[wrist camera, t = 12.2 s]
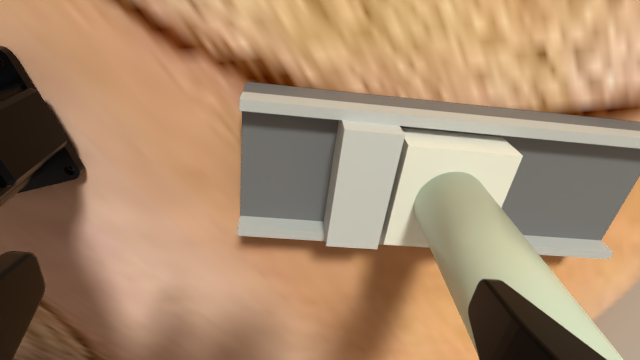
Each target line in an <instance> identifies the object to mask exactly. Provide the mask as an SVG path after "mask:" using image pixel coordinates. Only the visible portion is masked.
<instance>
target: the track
mask: <svg viewBox="0 0 640 360" xmlns="http://www.w3.org/2000/svg"><path fill="white" fill-rule="evenodd" d="M239 111H242V155H241V207H240V219H239V224H238V236H251V237H267V238H282V239H298V240H314V241H326V246H331V247H347V248H364V249H377V248H378V245H384V244H383V241H382V237H381V232H382V228H383V224H384V220H385V215H386V211H387V207H388V203H389V199H390V195H391V191H392V187H393V183H394V178H395V174H396V170H397V166H398V162H399V158H400V154H401V150H402V146H403V141H404V137H405V134H404V132H403V131H402V129H401V127H402V128H413V129H423V130H434V131H445V132H455V133H466V134H476V135H487V136H498V137H502V138H504V139H505V140H506V141H507V142H508V143H509V144H510V145H511V146H513V147H514V148H515V149H516V150H517V151H518V152H519V153H520V154H522V155H523V157H522V160H521V162H520V164H519V167H518V169H517V172H516V174H515V176H514V179H513V181H512V184H511V186H510V188H509V191H508V193H507V196H506V198H505V200H504V203H503V205H502V210H503V211H504V212H505V213H506V214H507V216H508V217H509V218H510V219H511V221H512V222H513V223H514V224H515V226H516V227H517V228H518V229H519V231H520V232H521V233H522V234H523V236H524V237H525V238H526V239H527V241H528V242H529V243H530V244H531V245H532V247H533V248H534V249H535V250H536V252H537V253H538V254H539V255H550V256H566V257H582V258H597V259H609V258H610V257H611V255H612V254H613V251H612V250H611V249H610V248H609V247H607V246H606V245H605V244H604V243H603V242H602V241H601V240H602V238H603V236H604V235H605V233H606V231H607V230H608V228H609V226H610V225H611V223H612V221H613V219H614V218H615V216H616V214H617V213H618V211H619V209H620V208H621V206H622V204H623V203H624V201H625V199H626V198H627V196H628V194H629V193H630V191H631V189H632V188H633V186H634V184H635V183H636V181H637V179H638V178H639V176H640V122H636V121H626V120H616V119H606V118H596V117H586V116H577V115H567V114H557V113H547V112H537V111H528V110H518V109H508V108H498V107H488V106H479V105H469V104H459V103H449V102H439V101H430V100H420V99H410V98H400V97H390V96H380V95H371V94H361V93H351V92H341V91H331V90H322V89H312V88H302V87H292V86H282V85H273V84H263V83H253V82H247V83H246V85H245V87H244V90H243V92H242V94H241V97H240V104H239ZM393 246H399V245H393ZM408 247H414V246H408ZM424 248H430V247H424Z"/></svg>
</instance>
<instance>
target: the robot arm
mask: <svg viewBox="0 0 640 360" xmlns="http://www.w3.org/2000/svg"><path fill="white" fill-rule="evenodd" d="M0 56H1V57H2V58H3V59H4V63H2V62H0V206H2V205H3V204H4V203H5V202H7V201H8V200H9V199H10V198H11V197H13V196H14V195H15V194H16V193H20V192H24V191H28V190H32V189H36V188H40V187H45V186H49V185H53V184H57V183H61V182H65V181H70V180H74V179H76V178H78V177H79V176H80V175H81V174H82V173H83V171H84V167H83V165H82V163H81V162H80V160H79V158H78V157H77V155H76V153H75V152H74V150H73V149H72V147H71V145H70V144H69V142H68V141H67V138H66V136H65V134H64V133H63V131H62V130H61V128H60V126H59V125H58V123H57V121H56V120H55V118H54V117H53V115H52V113H51V112H50V110H49V109H48V107H47V105H46V104H45V102H44V100H43V99H42V97H41V96H40V94H39V93H38V92H37V91H36V89H35V87H34V86H33V84H32V83H31V81H30V79H29V78H28V76H27V75H26V73H25V71H24V70H23V68H22V66H21V65H20V63H19V62H18V60H17V58H16V57H15V55H14V54H13V53H12V52H11V51H10V50H9V49H7V48H6V47H3V46H0ZM68 166H70V167H72V168H73V169H74V171H71V170H70V169H69V168H68ZM44 291H45V282H44V279H43V275H42V272H41V269H40V266H39V263H38V259H37V257H36V256H35V255H34V254H33V253H31V252H18V251H10V252H6V253H4V254H2V255H0V360H12V359H13V357H14V355H15V353H16V351H17V349H18V347H19V345H20V343H21V341H22V339H23V337H24V335H25V333H26V330H27V328H28V326H29V324H30V322H31V320H32V318H33V316H34V314H35V312H36V310H37V308H38V306H39V304H40V301H41V299H42V297H43V295H44ZM468 317H469V321H470V325H471V329H472V333H473V337H474V341H475V345H476V348H477V352H478V356H479V360H607V359H606V358H604V357H603V356H602V355H600V354H599V353H598V352H596V351H595V350H594V349H592V348H591V347H590V346H588V345H587V344H586V343H584V342H583V341H582V340H580V339H579V338H578V337H576V336H575V335H574V334H572V333H571V332H570V331H568V330H567V329H566V328H564V327H563V326H562V325H560V324H559V323H558V322H556V321H555V320H554V319H552V318H551V317H550V316H548V315H547V314H546V313H545V312H543V311H542V310H541V309H539V308H538V307H537V306H535V305H534V304H533V303H531V302H530V301H529V300H527V299H526V298H525V297H523V296H522V295H521V294H519V293H518V292H517V291H515V290H514V289H513V288H511V287H510V286H509V285H507V284H506V283H505V282H503V281H502V280H498V279H482V280H480V281H479V283H478V284H477V287H476V289H475V291H474V294H473V296H472V298H471V301H470V303H469V306H468Z"/></svg>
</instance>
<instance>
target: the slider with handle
mask: <svg viewBox="0 0 640 360" xmlns="http://www.w3.org/2000/svg"><path fill="white" fill-rule="evenodd" d="M401 129H402V131H403V132H404V134H405V137H404V141H403V146H402V150H401V154H400V158H399V162H398V166H397V170H396V174H395V178H394V183H393V187H392V191H391V195H390V199H389V203H388V207H387V211H386V215H385V220H384V224H383V228H382V232H381V237H382V241H383V244H384V245H399V246H414V247H430V249H431V251H432V254H433V256H434V258H435V260H436V263H437V265H438V267H439V269H440V271H441V274H442V276H443V278H444V280H445V283H446V285H447V287H448V289H449V291H450V294H451V296H452V298H453V300H454V303H455V305H456V307H457V309H458V311H459V314H460V316H461V318H462V320H463V323H464V325H465V327H466V329H467V331H468V334H469V336H470V338H471V340H472V343H473V345H474V347H475V349H476V352H477V348H476V345H475V341H474V337H473V333H472V329H471V325H470V321H469V317H468V306H469V303H470V301H471V298H472V296H473V294H474V291H475V289H476V287H477V284H478V283H479V281H480V280H482V279H498V280H502V281H503V282H505V283H506V284H507V285H509V286H510V287H511V288H513V289H514V290H515V291H517V292H518V293H519V294H521V295H522V296H523V297H525V298H526V299H527V300H529V301H530V302H531V303H533V304H534V305H535V306H537V307H538V308H539V309H541V310H542V311H543V312H545V313H546V314H547V315H548V316H550V317H551V318H552V319H554V320H555V321H556V322H558V323H559V324H560V325H562V326H563V327H564V328H566V329H567V330H568V331H570V332H571V333H572V334H574V335H575V336H576V337H578V338H579V339H580V340H582V341H583V342H584V343H586V344H587V345H588V346H590V347H591V348H592V349H594V350H595V351H596V352H598V353H599V354H600V355H602V356H603V357H604V358H606V359H607V360H623V358H622V357H621V356H620V355H619V353H618V352H617V351H616V350H615V348H614V347H613V346H612V345H611V343H610V342H609V341H608V340H607V338H606V337H605V336H604V335H603V334H602V332H601V331H600V330H599V329H598V327H597V326H596V325H595V324H594V322H593V321H592V320H591V319H590V317H589V316H588V315H587V314H586V312H585V311H584V310H583V309H582V307H581V306H580V305H579V304H578V303H577V301H576V300H575V299H574V298H573V296H572V295H571V294H570V293H569V291H568V290H567V289H566V288H565V286H564V285H563V284H562V283H561V281H560V280H559V279H558V278H557V276H556V275H555V274H554V273H553V272H552V270H551V269H550V268H549V267H548V265H547V264H546V263H545V262H544V260H543V259H542V258H541V257H540V255H539V254H538V253H537V252H536V250H535V249H534V248H533V247H532V245H531V244H530V243H529V242H528V241H527V239H526V238H525V237H524V236H523V234H522V233H521V232H520V231H519V229H518V228H517V227H516V226H515V224H514V223H513V222H512V221H511V219H510V218H509V217H508V216H507V214H506V213H505V212H504V211H503V210H502V205H503V203H504V200H505V198H506V196H507V193H508V191H509V188H510V186H511V184H512V181H513V179H514V176H515V174H516V172H517V169H518V167H519V164H520V162H521V160H522V157H523V155H522V154H520V153H519V152H518V151H517V150H516V149H515V148H514V147H513V146H511V145H510V144H509V143H508V142H507V141H506V140H505V139H504V138H502V137H498V136H487V135H476V134H466V133H455V132H445V131H434V130H423V129H413V128H402V127H401ZM477 354H478V352H477Z"/></svg>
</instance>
